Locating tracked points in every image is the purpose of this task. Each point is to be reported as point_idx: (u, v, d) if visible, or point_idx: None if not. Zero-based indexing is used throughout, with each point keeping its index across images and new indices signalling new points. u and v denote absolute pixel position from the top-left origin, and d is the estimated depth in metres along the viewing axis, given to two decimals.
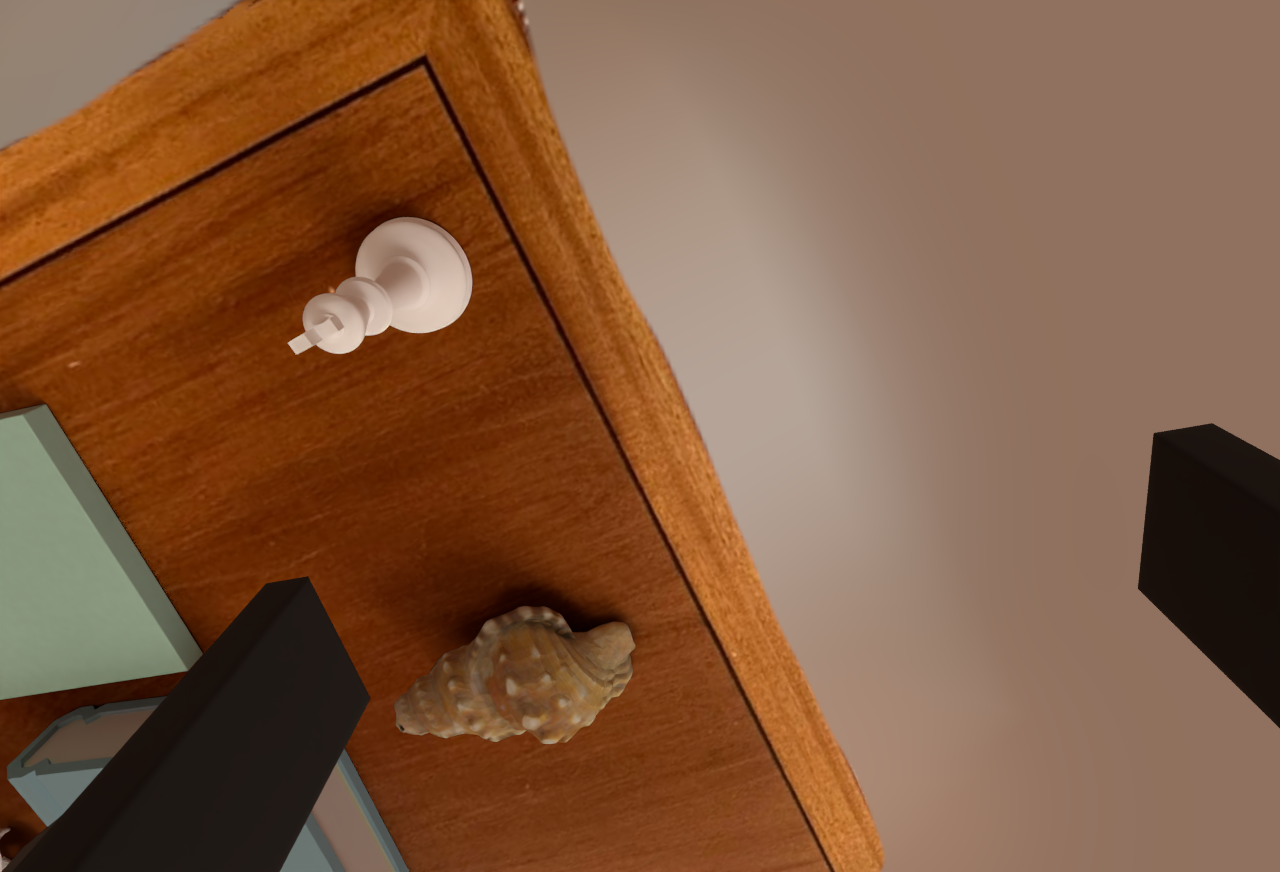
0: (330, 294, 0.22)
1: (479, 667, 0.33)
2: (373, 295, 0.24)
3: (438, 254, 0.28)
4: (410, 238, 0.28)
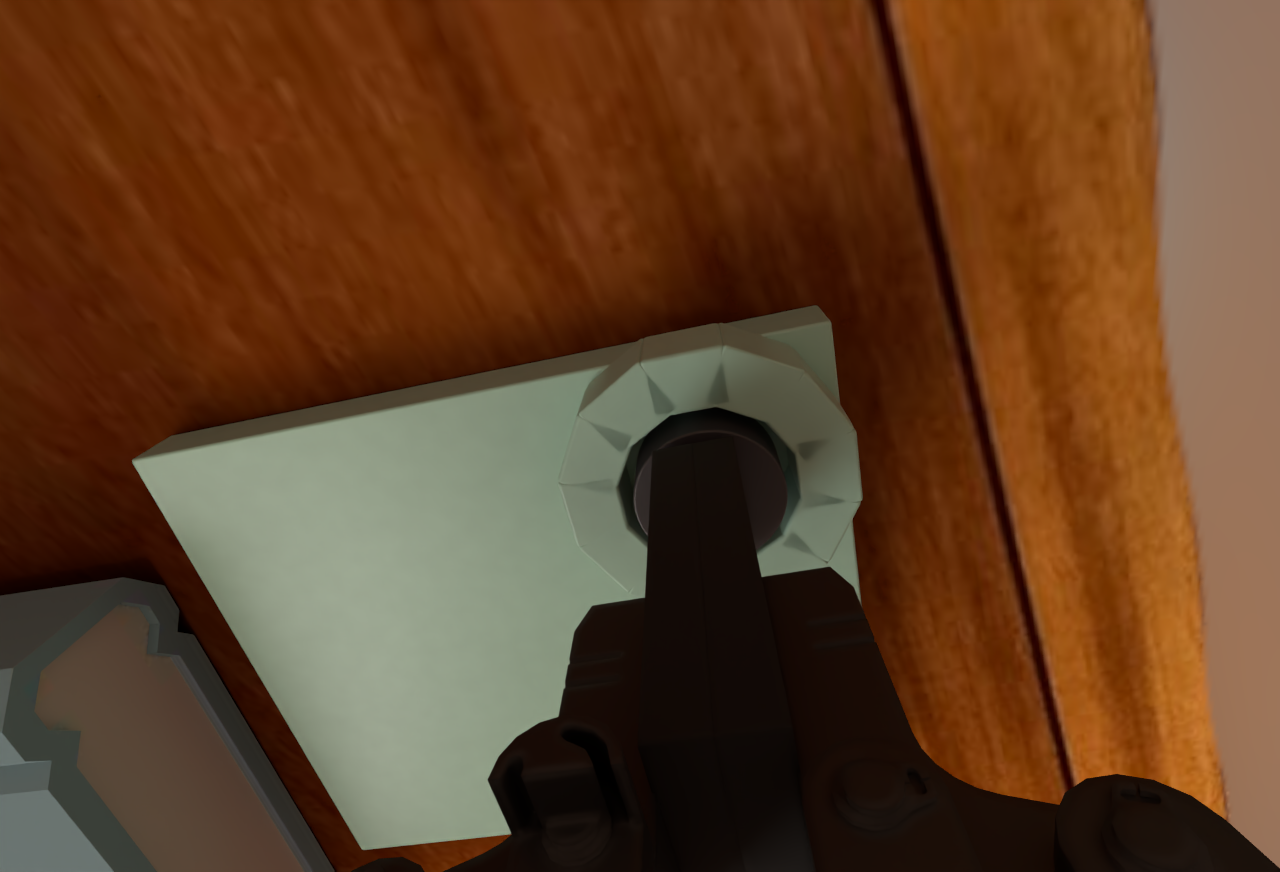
0: None
1: None
2: None
3: None
4: None
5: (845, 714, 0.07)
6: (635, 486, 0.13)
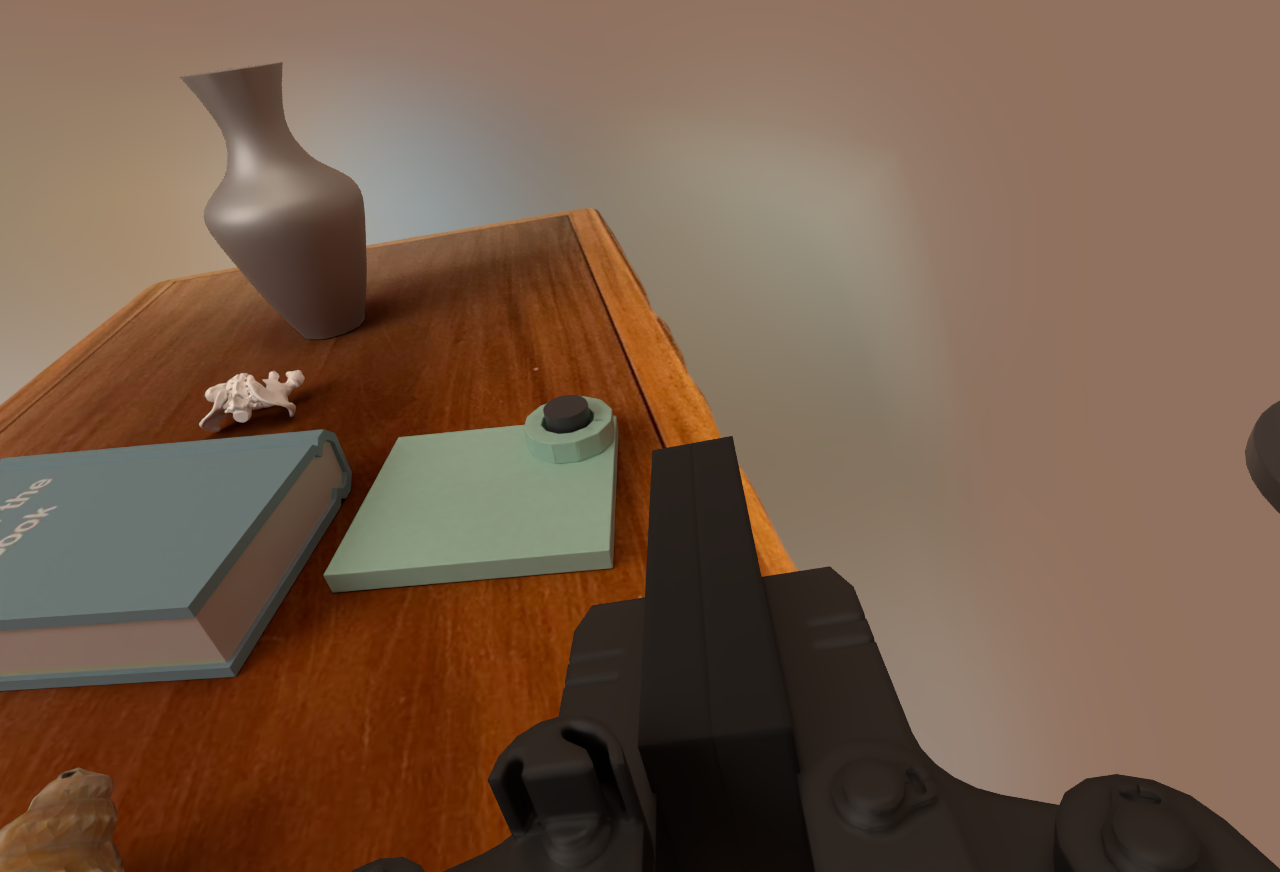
0: None
1: None
2: None
3: None
4: None
5: (846, 715, 0.07)
6: (546, 404, 0.45)
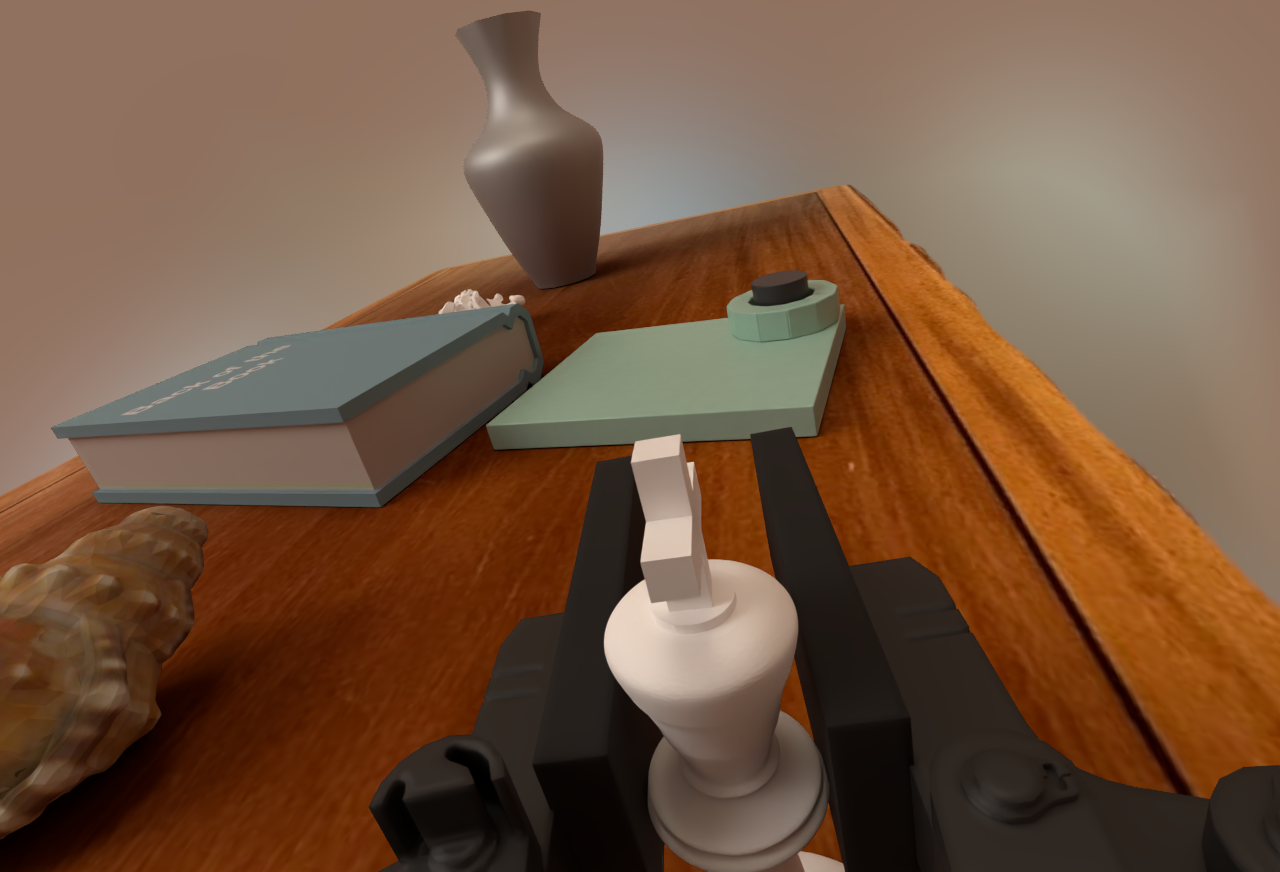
0: (785, 653, 0.06)
1: (77, 634, 0.17)
2: (748, 821, 0.07)
3: None
4: None
5: (953, 705, 0.07)
6: (756, 279, 0.38)
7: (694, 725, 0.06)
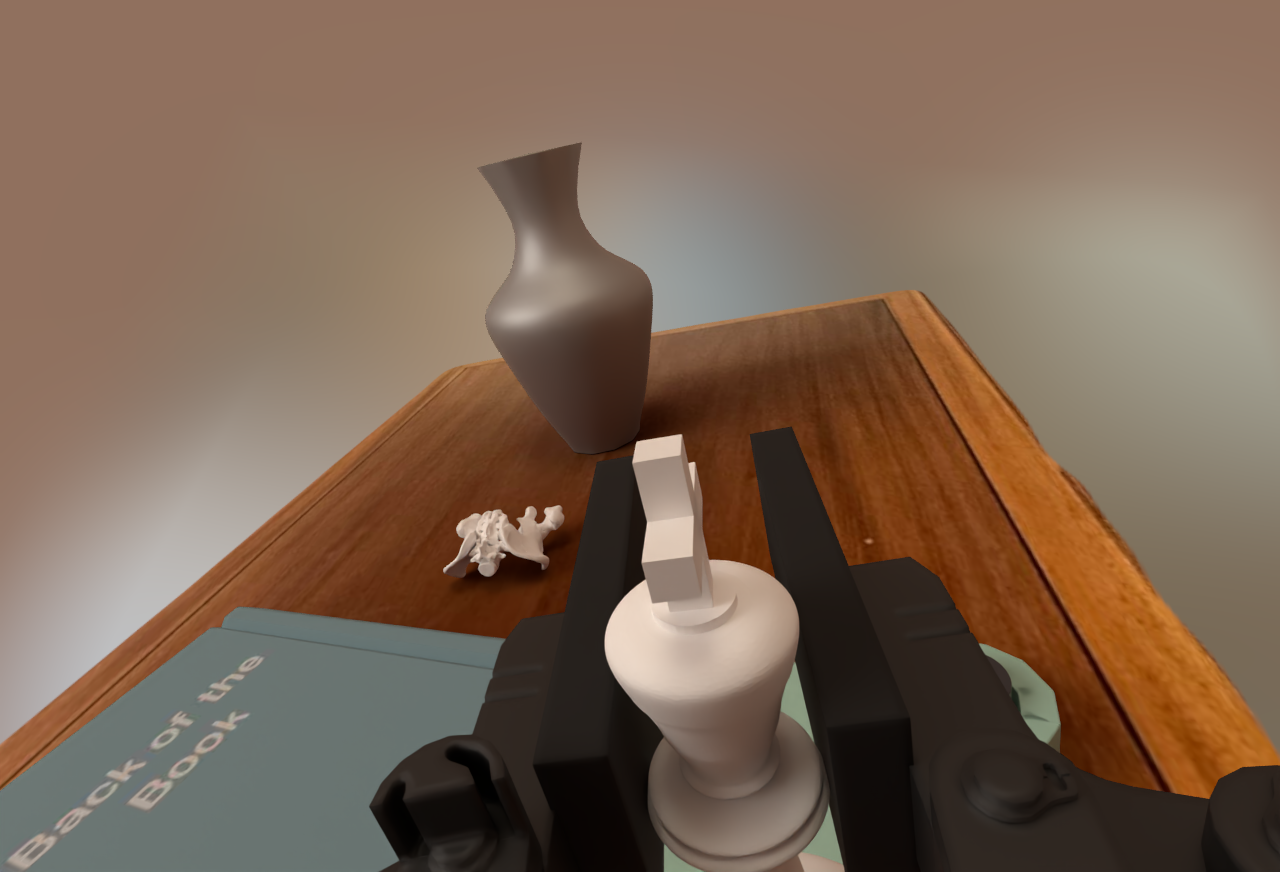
0: (786, 654, 0.06)
1: None
2: (749, 822, 0.07)
3: None
4: None
5: (953, 706, 0.07)
6: None
7: (695, 726, 0.06)
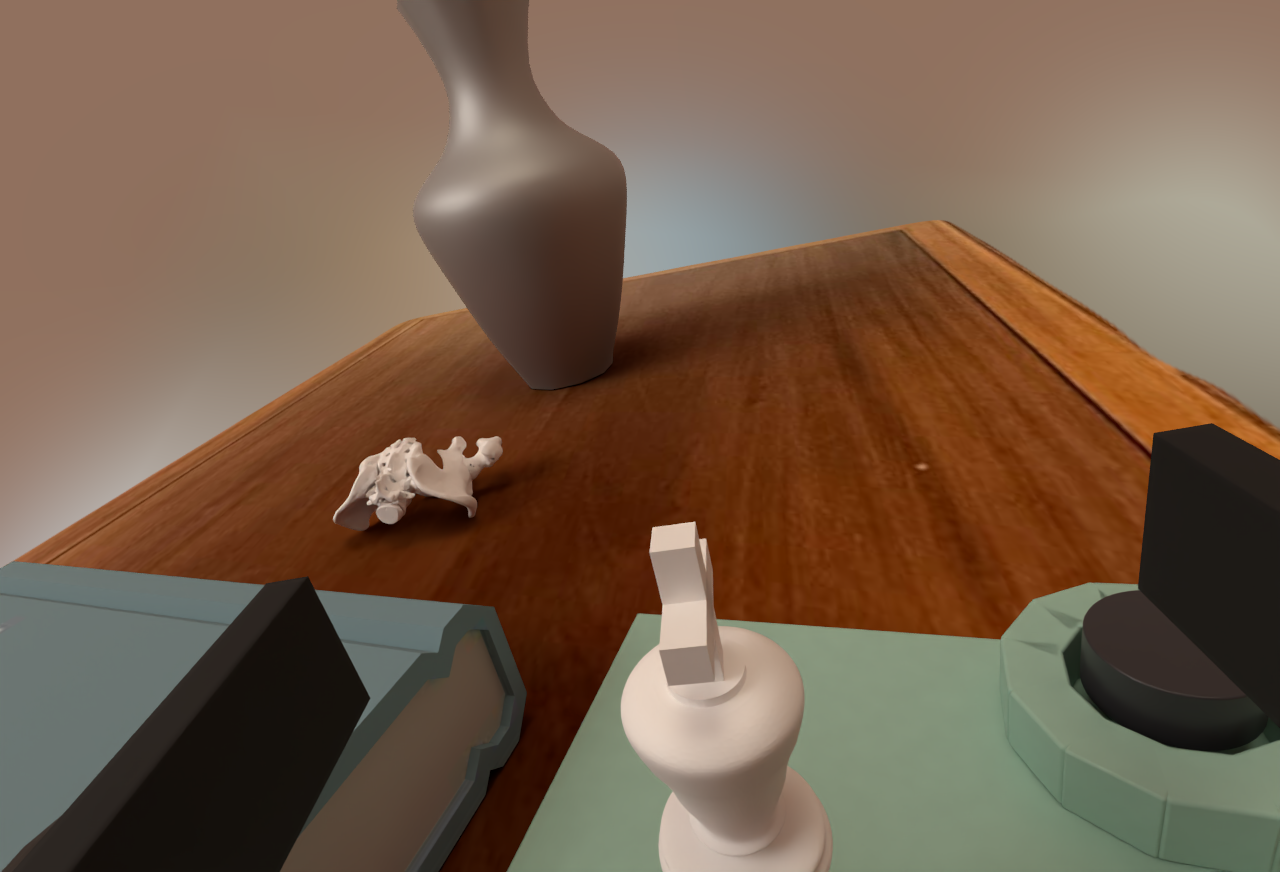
0: (792, 727, 0.07)
1: None
2: None
3: None
4: None
5: None
6: (1086, 615, 0.14)
7: (706, 794, 0.07)
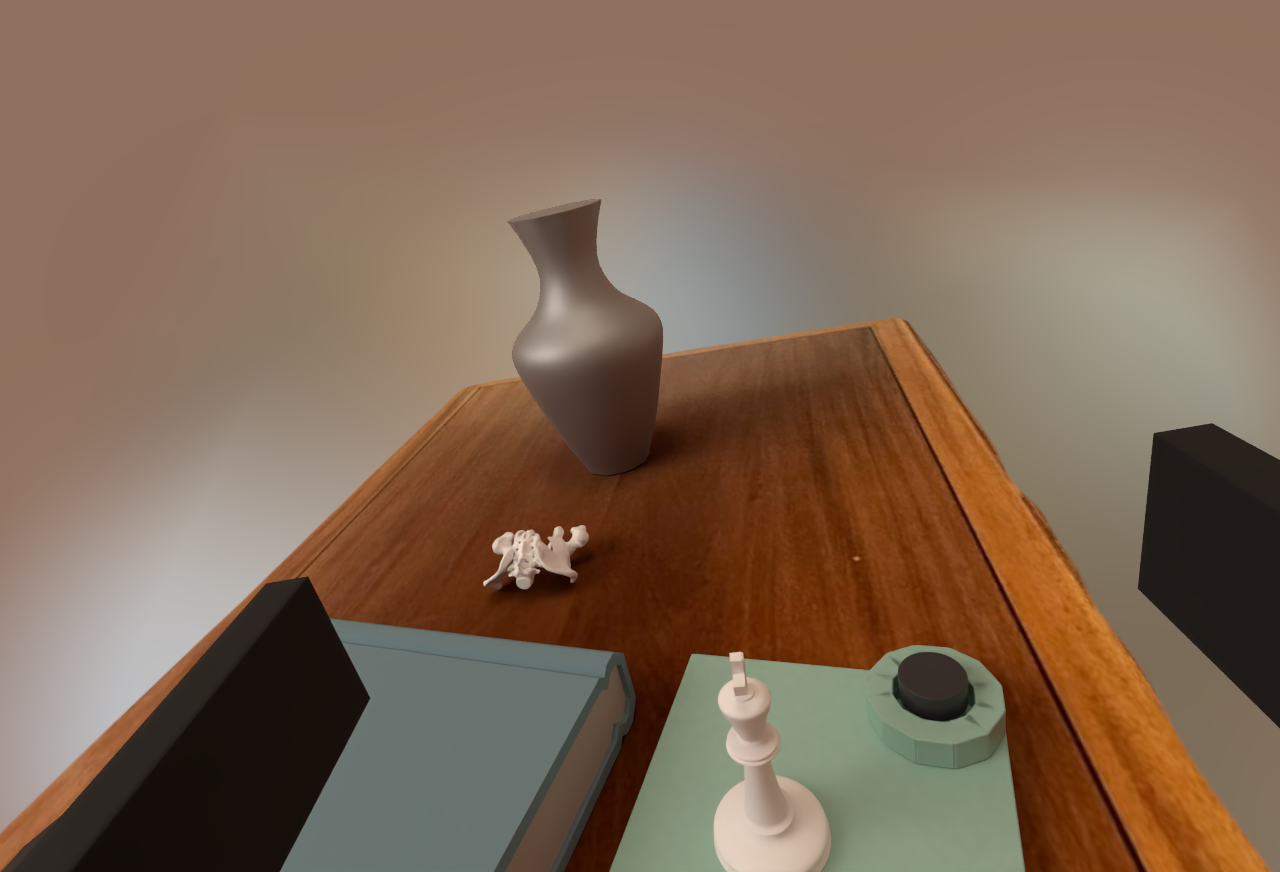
0: (767, 707, 0.25)
1: None
2: (757, 752, 0.26)
3: (780, 860, 0.27)
4: (804, 843, 0.27)
5: None
6: (901, 663, 0.32)
7: (744, 725, 0.25)
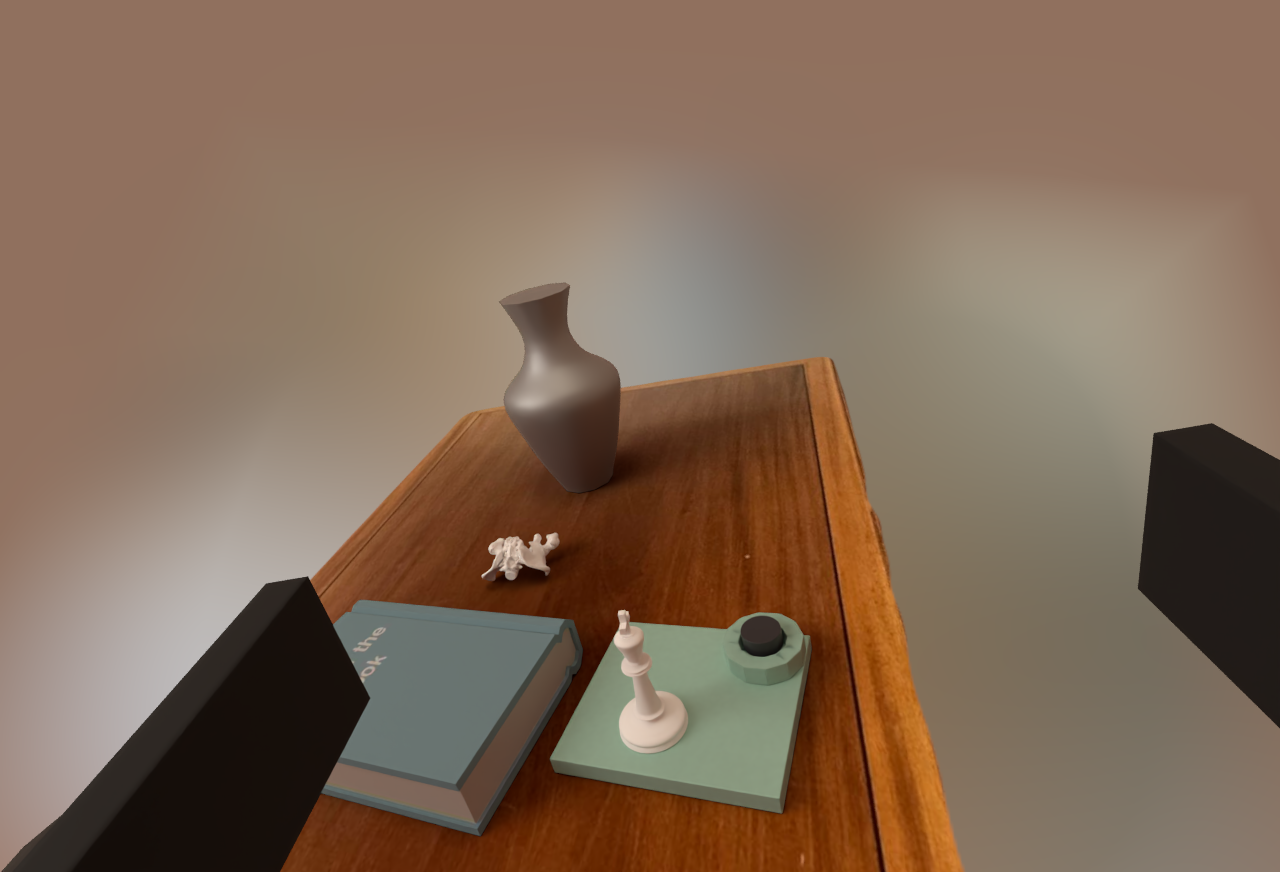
0: (640, 641, 0.43)
1: None
2: (637, 668, 0.44)
3: (653, 734, 0.45)
4: (669, 725, 0.46)
5: None
6: (744, 622, 0.51)
7: (627, 652, 0.43)
